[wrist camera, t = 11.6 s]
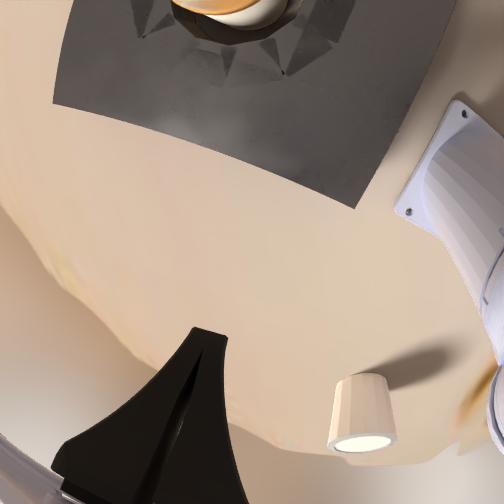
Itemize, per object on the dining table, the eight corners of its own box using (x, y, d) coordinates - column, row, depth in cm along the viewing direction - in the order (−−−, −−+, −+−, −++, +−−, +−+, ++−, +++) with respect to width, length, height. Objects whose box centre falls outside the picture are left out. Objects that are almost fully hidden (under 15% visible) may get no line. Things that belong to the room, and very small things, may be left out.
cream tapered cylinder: (317, 390, 29) (312, 448, 24) (362, 361, 25) (364, 428, 20) (361, 405, 30) (360, 457, 25) (405, 380, 26) (411, 438, 21)
